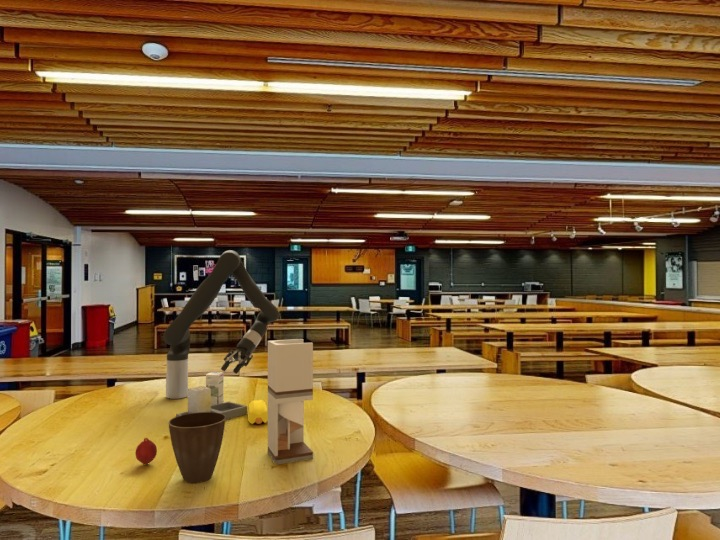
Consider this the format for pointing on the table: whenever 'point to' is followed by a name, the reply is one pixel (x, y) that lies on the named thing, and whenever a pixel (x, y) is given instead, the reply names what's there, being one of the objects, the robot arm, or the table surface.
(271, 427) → the white brown-banded tower
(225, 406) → the grey rectangular tray
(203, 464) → the plant pot
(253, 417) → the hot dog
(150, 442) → the onion
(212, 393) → the syrup box
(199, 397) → the block
